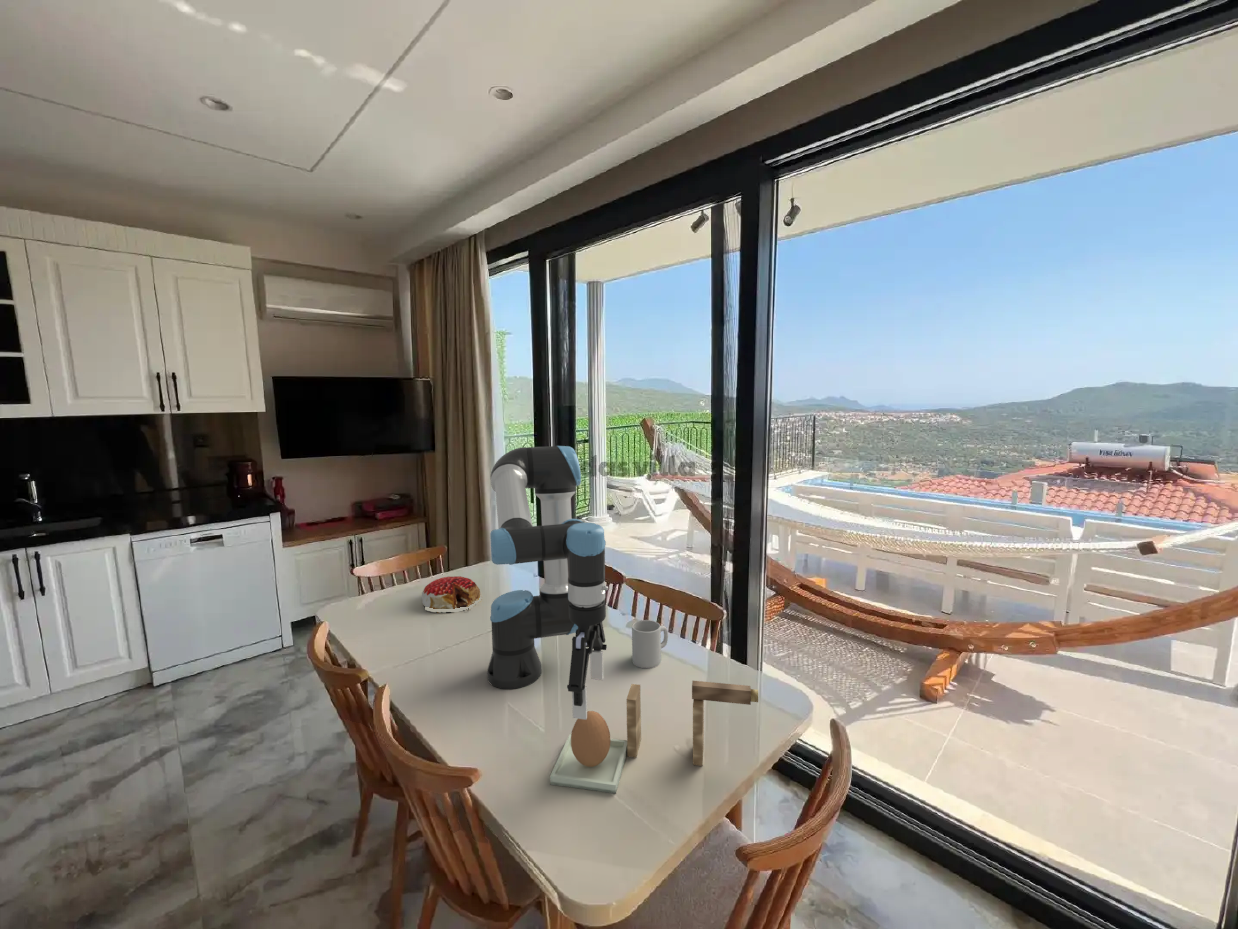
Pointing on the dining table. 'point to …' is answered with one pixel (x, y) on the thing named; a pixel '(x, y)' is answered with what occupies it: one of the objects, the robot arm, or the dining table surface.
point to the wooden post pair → (635, 725)
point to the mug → (647, 643)
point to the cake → (450, 593)
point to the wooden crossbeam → (724, 692)
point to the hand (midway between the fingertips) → (589, 697)
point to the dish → (590, 769)
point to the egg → (590, 739)
